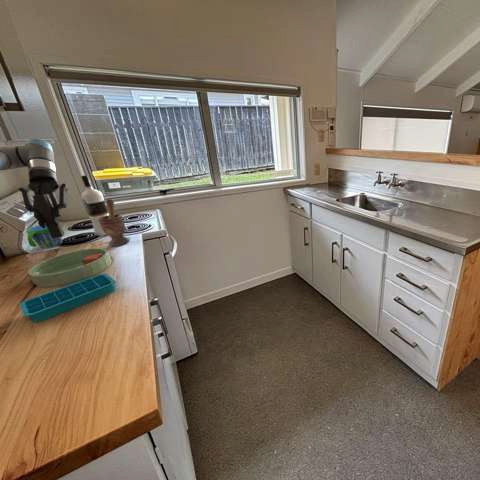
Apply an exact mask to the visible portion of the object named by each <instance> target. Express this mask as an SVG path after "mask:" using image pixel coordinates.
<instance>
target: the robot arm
mask: <svg viewBox="0 0 480 480" xmlns="http://www.w3.org/2000/svg"><path fill="white" fill-rule="evenodd" d="M55 163H56V162H55V153H54V150H53V147H52V145H51V144H50V143H49V142H47V140H44V139H40V138H30V139H28V140H26V141H25V143H24V146H23V145H21V146H15V147H4V148H0V172H1V171H6V170H8V171H9V170H13V169H22V168H27V173H28V174H27V175H28V183H29V184H28V185H27V187H24V188H23V187H18V191H20V193H21V196H22V199H23V203H24V208H25V209H26V210H27V211H28V212H29V213H33V217H34V218H35V220H37V223H38V226H39V225H40V226H41V227H42V228H45V222H44V220H43V218H42V216H41V214H40V212H39V209H38V207H37V205H36V203H35V201H34V200H33V201H32V197H31V191H32V192H33V194H34V195H33V196H35V195H43V194H47V195H48V196H49V200H50V203H51V205H52V207H51V215H52V222H53V223H54V224H55V225H56V226H58V225H59V223H60V221H59V217H61V216H62V212H61V210H62V209H66V208H67V207H68V206H67V204H68V201H67V200H68V199H67V197H68V196H67V192H68V190H69V187H68V185H67V184H66V183H59V182H58V176H57V169H56V164H55ZM58 189H59V191H58V192H59V194H58V195H59V196H58V199H59V201H58V199H57V196H56V193H55V192H56V191H57V190H58ZM58 221H59V222H58Z"/></svg>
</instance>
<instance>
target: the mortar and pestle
mask: <svg viewBox="0 0 480 480" xmlns="http://www.w3.org/2000/svg"><path fill="white" fill-rule="evenodd" d="M105 204H106V206H107V209H108V213H109V216H104V217H101V218H99V219H98V220H99V223H100V225H101V227H102V229H103V231H104V232H105V234H106V235H105V236H108V237H109V238H111V239H110V240H109V246H110V247H115V246H116V247H119V246H123V245H125V244H128V243H130V239H128V238H127V237H125V236H124V233H125V232H126V223H125V221H124V217H123V215H122V214H115V201H114V200H113V199H111V198H108V199H106V200H105Z"/></svg>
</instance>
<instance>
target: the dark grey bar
mask: <svg viewBox="0 0 480 480" xmlns="http://www.w3.org/2000/svg"><path fill="white" fill-rule="evenodd" d="M34 195H35V194H34ZM34 195H33V196H32V199H33V202H34V201H35V203H36V205H37V207H38V209H39V212H40V214H41V216H42V218H43V220H44V222H45V224H46V226H47V228H48V230H49V233H50V235H51V237H52V238H58V237H61V238H62V237H64V236H65V231H64V229H63V228H62V226H61V223H60V221H59V220H58V222H59V225H58V226H56V225H55V224H54V223H53V222H52V215H51V207H53V204H52V202H51V200H50V198H49V197H48V194H43V195H35V196H34ZM62 229H63V230H62ZM63 231H64V232H63Z"/></svg>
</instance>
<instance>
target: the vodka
mask: <svg viewBox="0 0 480 480" xmlns="http://www.w3.org/2000/svg"><path fill="white" fill-rule="evenodd" d="M80 178H81V180H82V183H83V185H84V188H85V190H84V191H83V192H82V193H80V198H81V200H82V202H83V203H84V207H85V208H86V211H87V215H88V217H89V219H90V221H91V224H92V227H93V232H94V234H95V236H98V237H103V236H107V235H106V234H105V232H104V231H103V229H102V227H101V225H100V223H99V220H98V219H99V218H101V217H104V216H109V213H108V209H107V205H106V200H105V198H104V195H103V193H102V191H100V190H98V189H95V188H93V186H92V184H91V183H92V182H91V181H90V178H89V175H81V177H80Z"/></svg>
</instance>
